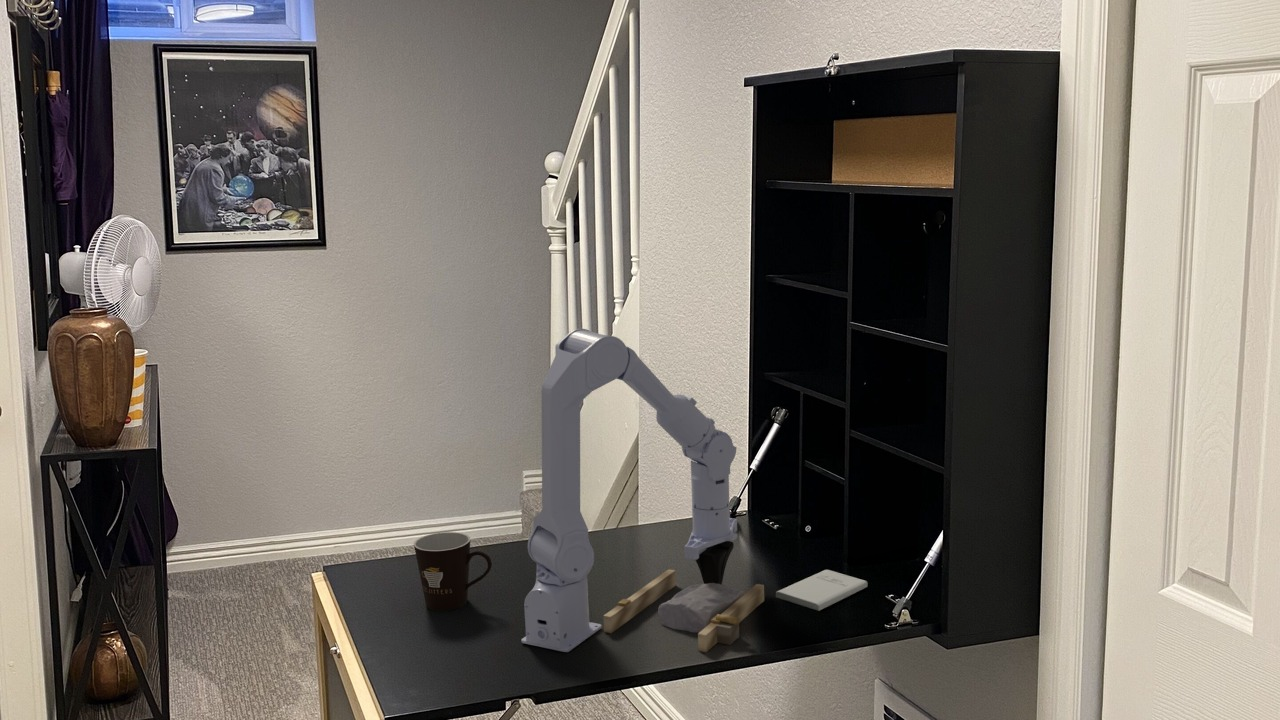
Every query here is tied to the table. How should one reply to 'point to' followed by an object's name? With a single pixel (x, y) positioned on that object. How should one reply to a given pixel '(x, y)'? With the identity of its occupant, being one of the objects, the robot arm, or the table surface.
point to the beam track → (716, 632)
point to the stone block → (697, 606)
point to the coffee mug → (446, 569)
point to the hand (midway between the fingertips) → (713, 588)
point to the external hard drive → (821, 589)
